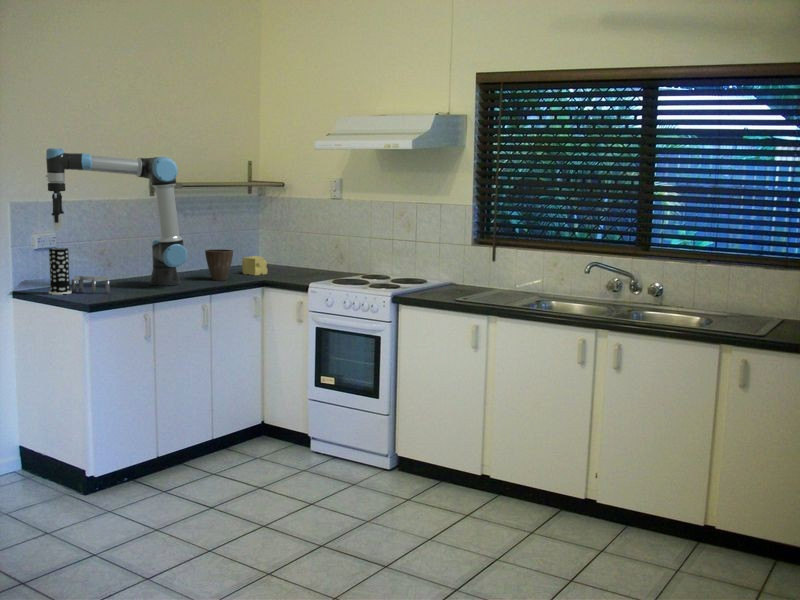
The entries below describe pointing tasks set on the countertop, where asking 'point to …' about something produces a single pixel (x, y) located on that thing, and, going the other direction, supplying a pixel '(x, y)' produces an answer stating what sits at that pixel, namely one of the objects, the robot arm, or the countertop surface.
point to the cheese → (254, 265)
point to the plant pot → (219, 263)
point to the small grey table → (93, 279)
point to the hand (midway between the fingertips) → (58, 228)
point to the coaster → (60, 293)
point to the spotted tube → (59, 270)
